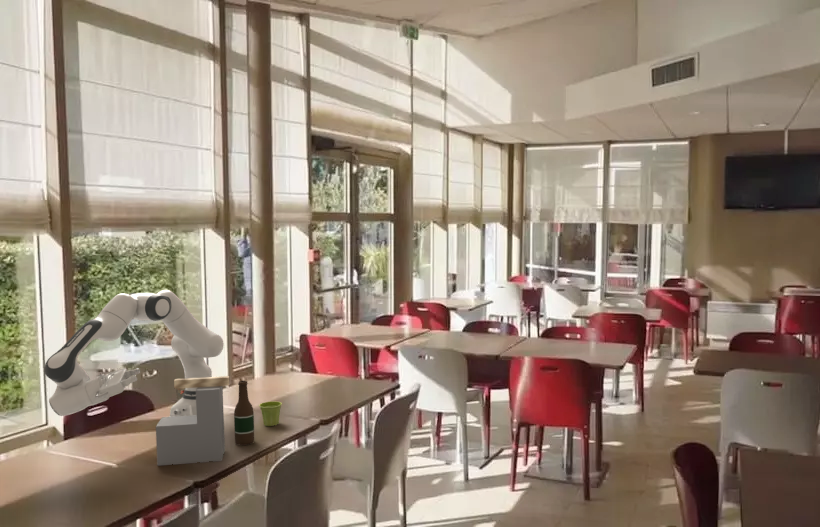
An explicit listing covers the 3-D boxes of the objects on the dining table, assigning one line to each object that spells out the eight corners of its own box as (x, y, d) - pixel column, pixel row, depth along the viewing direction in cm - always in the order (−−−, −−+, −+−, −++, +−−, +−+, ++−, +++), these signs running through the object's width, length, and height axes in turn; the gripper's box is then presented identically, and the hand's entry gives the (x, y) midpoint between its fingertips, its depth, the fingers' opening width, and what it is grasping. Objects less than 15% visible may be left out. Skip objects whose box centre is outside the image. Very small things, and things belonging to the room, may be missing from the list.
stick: (174, 388, 248) (174, 380, 248) (175, 387, 251) (175, 379, 251) (228, 385, 251) (228, 377, 251) (229, 384, 254) (229, 376, 254)
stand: (157, 465, 244) (154, 392, 243) (163, 454, 256) (160, 385, 254) (221, 460, 248) (219, 389, 246) (224, 450, 260) (222, 381, 258)
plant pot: (275, 428, 286) (274, 407, 286) (255, 426, 289) (254, 406, 289) (286, 422, 295) (285, 402, 295) (267, 420, 298) (266, 400, 298)
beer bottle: (249, 445, 264) (247, 383, 263) (231, 445, 266) (228, 383, 264) (258, 439, 272) (256, 379, 270) (239, 438, 273) (237, 378, 272)
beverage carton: (184, 408, 322) (184, 394, 321) (176, 399, 338) (175, 386, 338) (202, 405, 326) (201, 391, 325) (192, 397, 342) (192, 384, 342)
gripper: (90, 390, 233) (130, 374, 236) (100, 373, 252) (137, 358, 255) (98, 406, 234) (138, 390, 237) (107, 389, 254) (144, 374, 257)
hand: (138, 373), depth 246 cm, fingers open, 8 cm apart
